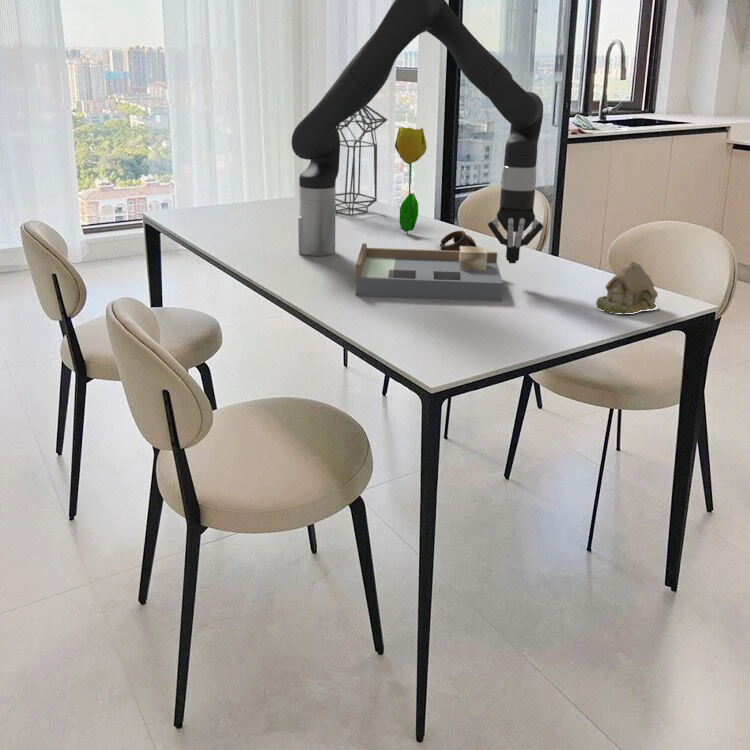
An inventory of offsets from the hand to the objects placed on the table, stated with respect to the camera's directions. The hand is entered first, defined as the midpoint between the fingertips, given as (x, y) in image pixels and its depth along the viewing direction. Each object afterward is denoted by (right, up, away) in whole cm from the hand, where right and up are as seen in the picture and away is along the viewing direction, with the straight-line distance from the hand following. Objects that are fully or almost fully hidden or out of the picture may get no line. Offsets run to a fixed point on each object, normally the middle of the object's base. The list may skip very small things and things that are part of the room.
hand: (512, 262), depth 194 cm
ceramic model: (+23, -12, -13) cm, 28 cm away
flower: (-22, +15, +50) cm, 57 cm away
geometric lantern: (-38, +26, +78) cm, 91 cm away
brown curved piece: (-10, +4, +25) cm, 27 cm away
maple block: (-9, -1, +1) cm, 9 cm away
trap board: (-19, -5, 0) cm, 20 cm away
